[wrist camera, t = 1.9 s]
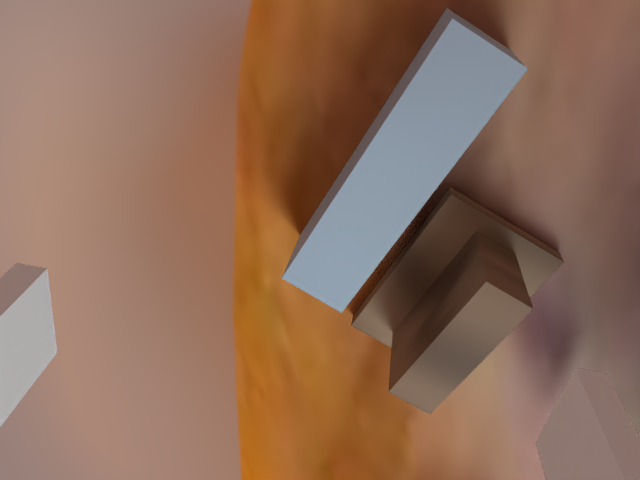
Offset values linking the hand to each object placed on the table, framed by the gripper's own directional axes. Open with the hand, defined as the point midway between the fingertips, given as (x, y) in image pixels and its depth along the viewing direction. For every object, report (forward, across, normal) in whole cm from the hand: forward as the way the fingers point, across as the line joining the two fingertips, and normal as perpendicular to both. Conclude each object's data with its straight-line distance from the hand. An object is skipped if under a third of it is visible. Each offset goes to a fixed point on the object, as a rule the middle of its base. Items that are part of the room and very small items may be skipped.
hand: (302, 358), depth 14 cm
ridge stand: (+16, -8, +7) cm, 19 cm away
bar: (+17, -3, 0) cm, 17 cm away
